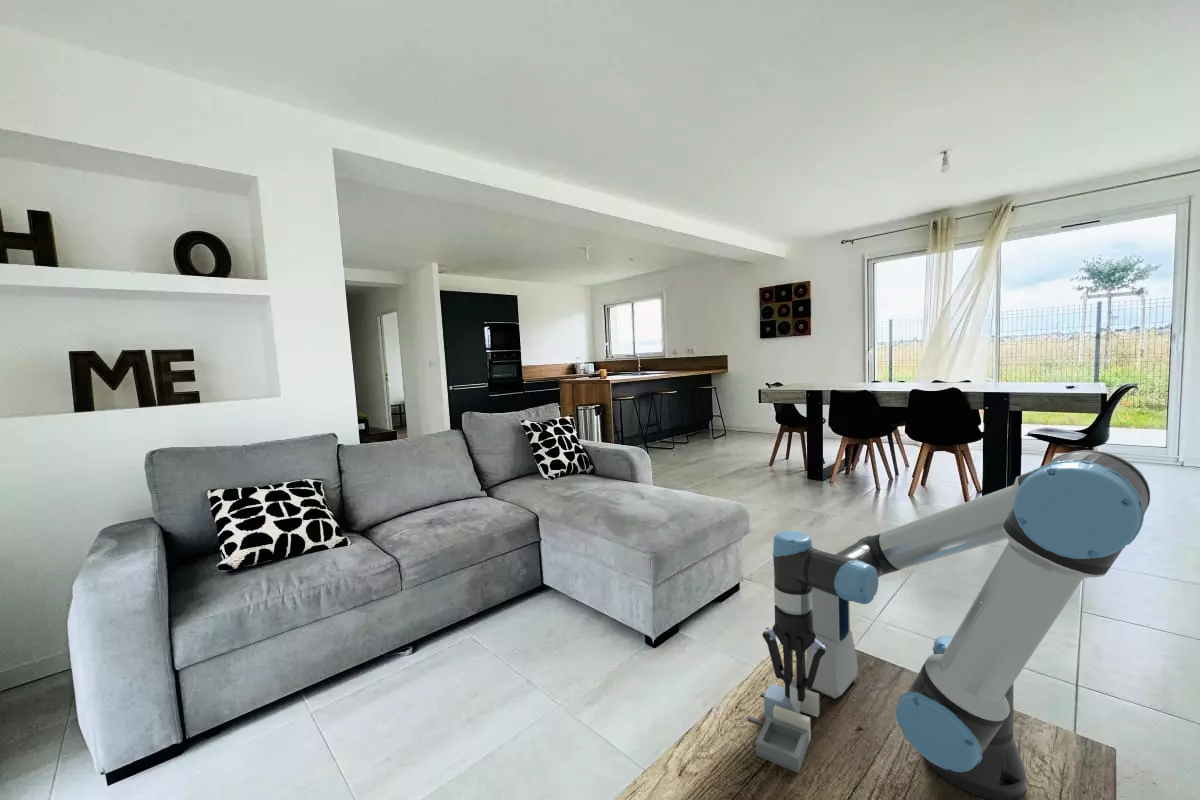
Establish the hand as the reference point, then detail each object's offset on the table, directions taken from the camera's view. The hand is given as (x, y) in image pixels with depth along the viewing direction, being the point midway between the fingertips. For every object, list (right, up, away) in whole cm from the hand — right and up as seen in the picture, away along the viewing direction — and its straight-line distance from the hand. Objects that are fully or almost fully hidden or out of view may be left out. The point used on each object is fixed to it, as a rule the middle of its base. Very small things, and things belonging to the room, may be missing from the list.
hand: (795, 712), depth 104 cm
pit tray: (-6, -3, -8) cm, 10 cm away
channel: (0, -2, 0) cm, 2 cm away
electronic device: (+13, -1, +11) cm, 18 cm away
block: (-3, -2, +2) cm, 4 cm away
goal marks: (-5, -2, +4) cm, 6 cm away
